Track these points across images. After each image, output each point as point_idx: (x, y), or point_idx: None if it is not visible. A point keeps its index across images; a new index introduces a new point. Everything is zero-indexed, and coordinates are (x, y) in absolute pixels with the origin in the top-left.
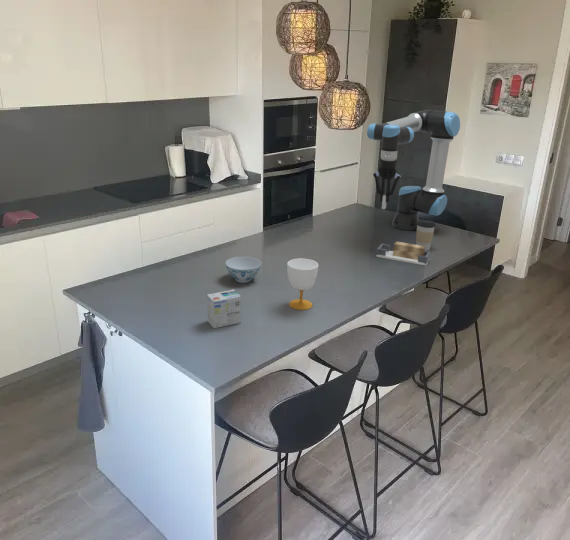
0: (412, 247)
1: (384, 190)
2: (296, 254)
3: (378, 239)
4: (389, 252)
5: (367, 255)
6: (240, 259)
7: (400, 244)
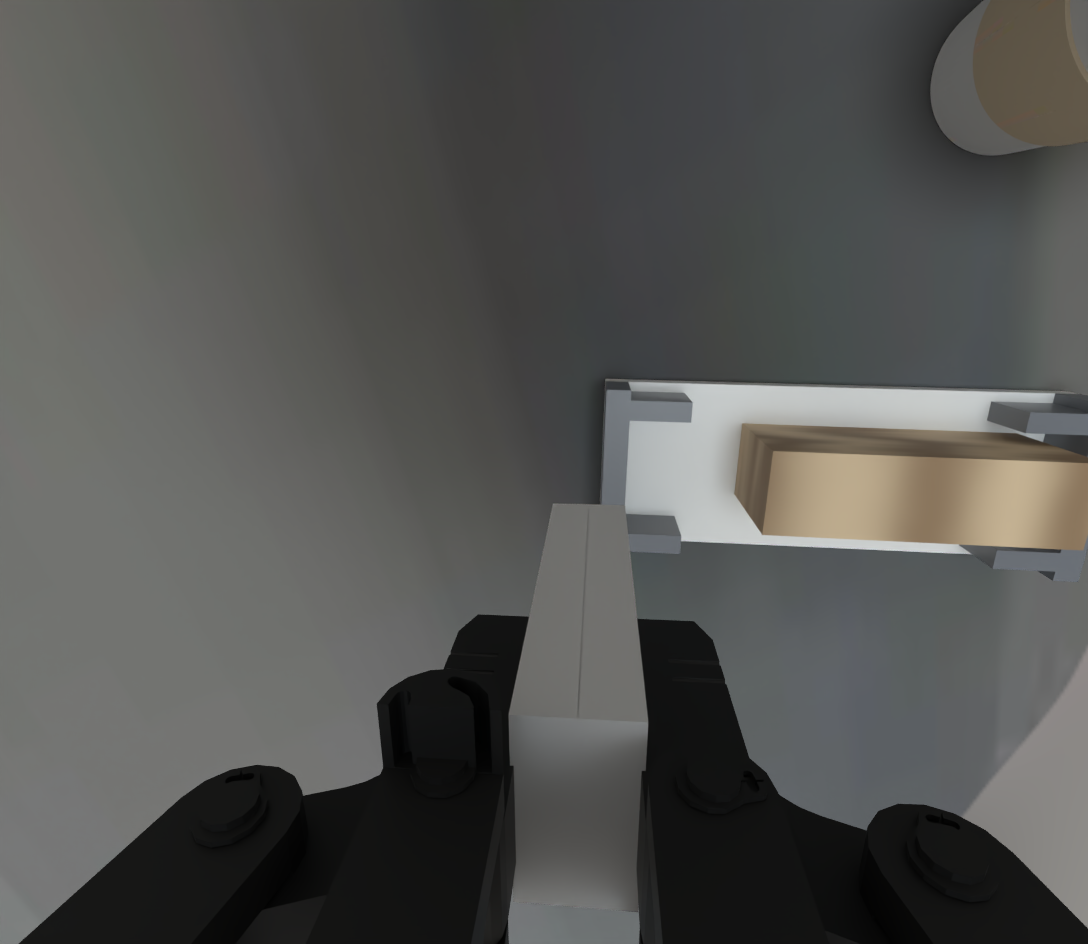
0: (957, 541)
1: (478, 924)
2: (94, 721)
3: (500, 20)
4: (694, 434)
5: (528, 533)
6: None
7: (828, 526)
